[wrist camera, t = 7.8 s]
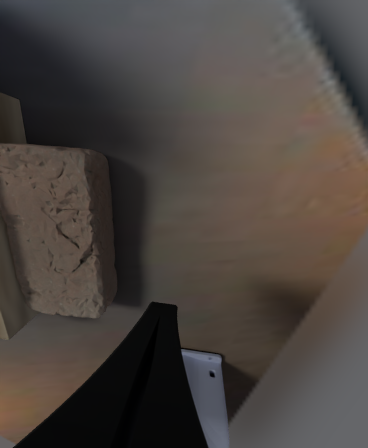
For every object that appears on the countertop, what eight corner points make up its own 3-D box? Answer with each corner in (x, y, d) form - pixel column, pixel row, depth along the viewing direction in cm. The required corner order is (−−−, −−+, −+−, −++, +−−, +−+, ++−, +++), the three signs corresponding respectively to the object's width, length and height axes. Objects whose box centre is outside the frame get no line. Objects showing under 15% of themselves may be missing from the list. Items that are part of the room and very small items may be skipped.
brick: (121, 294, 22) (101, 327, 17) (56, 287, 22) (20, 317, 17) (114, 152, 17) (83, 145, 12) (30, 146, 17) (-30, 137, 12)
